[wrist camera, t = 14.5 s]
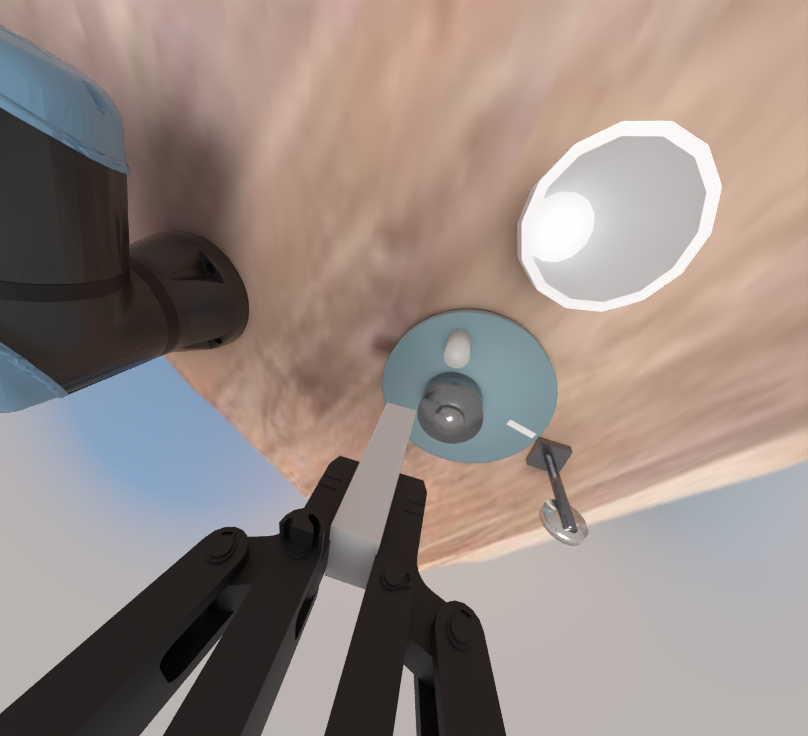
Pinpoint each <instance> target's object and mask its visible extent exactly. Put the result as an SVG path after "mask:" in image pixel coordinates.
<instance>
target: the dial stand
mask: <svg viewBox="0 0 808 736" xmlns="http://www.w3.org/2000/svg"><path fill="white" fill-rule="evenodd" d="M571 454H572V450H571V448H570V447H569V446H566V445H562V444H559V443H556V442H553V441H550V440H546V439H543V438H540V437H538V439H537V441H536V443H535V444H534V446H533V448H532V450H531V452H530V453H529V455H528V457H527V459H526V461H527V465H530V466H533V467H536V468H539V469H542V470H546V471H548V475H549V479H550V482H551V486H552V489H553V493H554V496H555V499H550V500H547V501H546V502H545V503H544V504H543V506H542V507H541V509H540V512H539V516H540V520H541V522H542V524H543V526H544V527H545V529H546V530H547V531H548V532H549V533H550V534H551V535H552V536H553V537H554V538H556V539H557V540H559V541H560V542H562V543H564V544H568V545H571V546H575V545H579V544H581V542H582V541H583V540H584V539H585V538H586V537H587V535H588V527H587V524H586V522H585V520H584V519H583V517H582V516H581V515H580V514H579V513H578V512H577V511H576V510H575V509H574V508H573V507H571V506H570V505H569V502H568V499H567V496H566V493H565V490H564V486H563V483H562V480H561V477H560V474H559V472H560V470H561V469H562V467H563V466H564V464H565V463H566V461H567V460H568V458H569V457H570V455H571Z"/></svg>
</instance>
